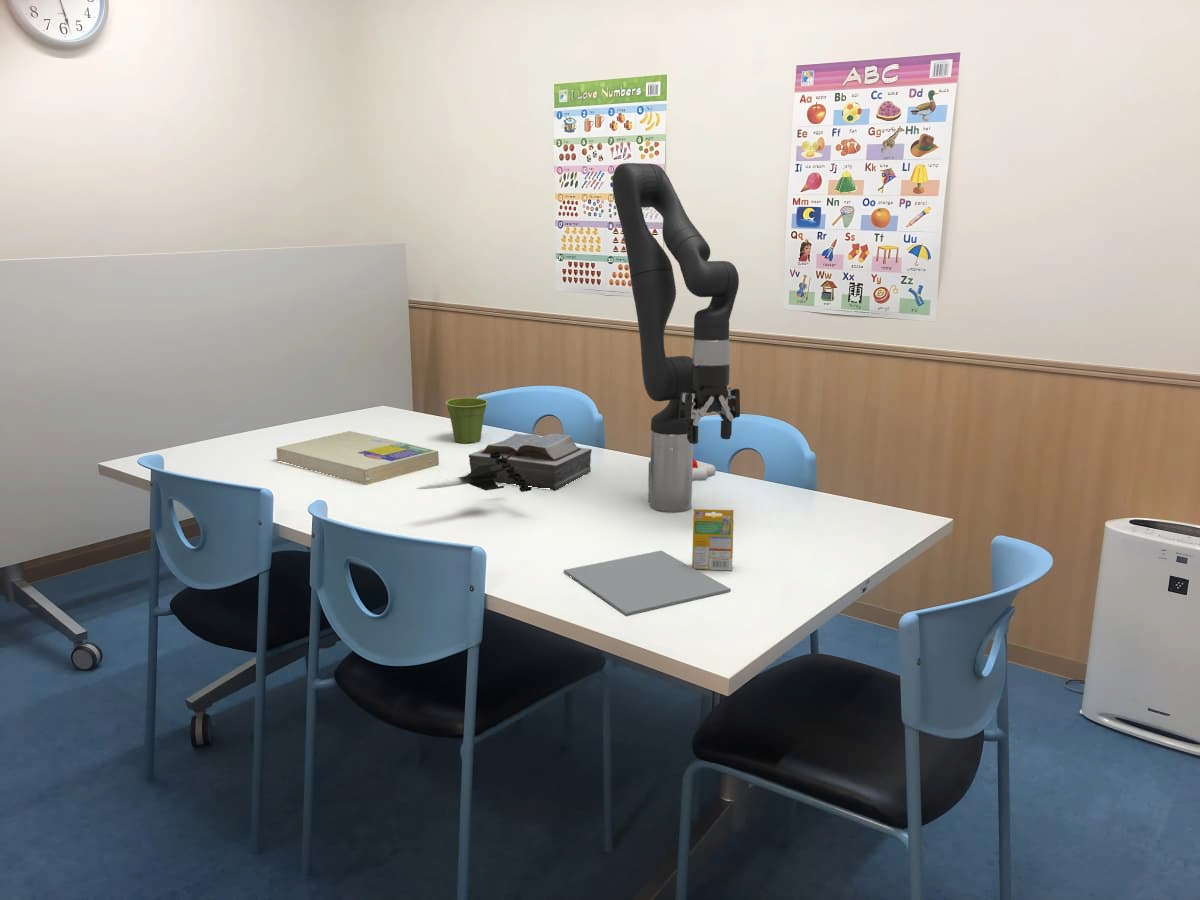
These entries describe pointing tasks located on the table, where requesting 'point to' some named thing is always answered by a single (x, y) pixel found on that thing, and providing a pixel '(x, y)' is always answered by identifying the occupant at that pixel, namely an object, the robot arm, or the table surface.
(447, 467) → the table surface
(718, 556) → the crayon box
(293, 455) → the puzzle box
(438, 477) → the table surface
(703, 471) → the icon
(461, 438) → the plant pot
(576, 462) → the bible
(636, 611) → the slate mat
